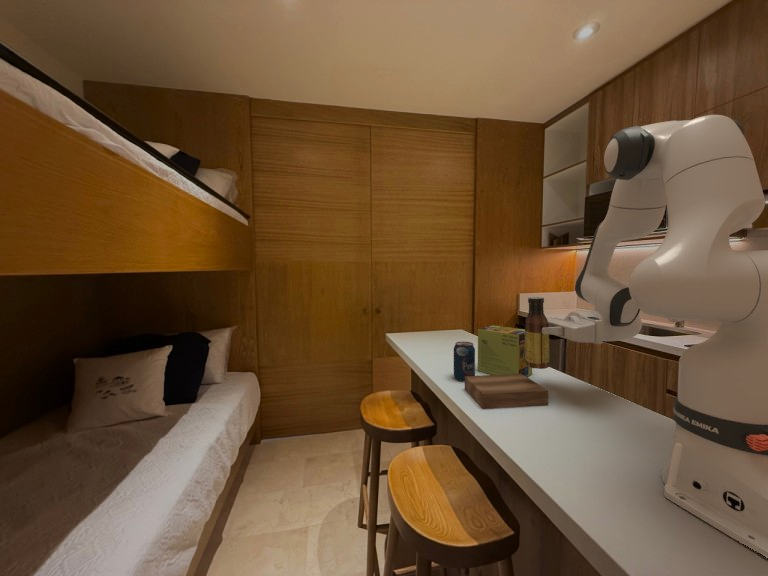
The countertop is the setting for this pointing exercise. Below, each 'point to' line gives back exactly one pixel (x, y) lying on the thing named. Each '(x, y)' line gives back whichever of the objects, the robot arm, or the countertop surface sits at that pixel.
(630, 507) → the countertop surface
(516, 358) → the protein box
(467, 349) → the soda can
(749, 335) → the robot arm
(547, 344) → the sauce bottle
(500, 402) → the walnut stand
